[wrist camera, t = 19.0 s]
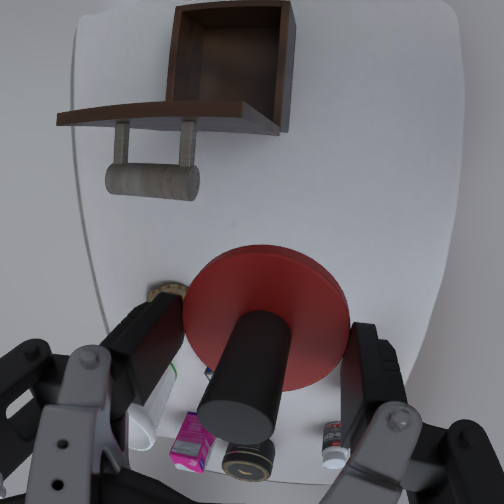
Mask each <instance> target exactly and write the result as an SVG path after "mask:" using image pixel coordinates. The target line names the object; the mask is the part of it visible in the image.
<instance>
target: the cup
mask: <svg viewBox="0 0 504 504" xmlns="http://www.w3.org/2000/svg"><path fill="white" fill-rule="evenodd" d="M175 380H176V371H175V368H174V367H173V365H172V364H171V363H170V365H169V366H168V368H167V369H166V371H165V372H164V374H163V376H162V377H161V379H160V380H159V382H158V384H157V385H156V387H155V388H154V390H153V392H152V393H151V395H150V396H149V398H148V400H147V401H146V403H145V405H144V406H143V407H142V406H139V405H136V404H134V403H131V405H130V406H129V408H128V409H127V410H128V413H129V435H128V448H131V449H135V450H139V451H143V450H149V449H150V448H151V447H152V446H153V444H154V442H155V440H156V438H157V436H156V429H157V426H158V423H159V421H160V418H161V416H162V413H163V410H164V408H165V405H166V403H167V400H168V398H169V395H170V392H171V390H172V387H173V385H174V382H175Z"/></svg>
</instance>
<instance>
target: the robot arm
mask: <svg viewBox="0 0 504 504" xmlns="http://www.w3.org/2000/svg"><path fill="white" fill-rule="evenodd" d="M182 309H183V298H182V296H181V295H179V294H173V293H168V292H163V291H161V292H160V293H159V294H158V295H157V296H156V297H155V298H154V299H153V300H152V301H151V302H145V303H143V304H141V305H139V306H137V307H135V308H134V309H133V310H132V311H131V312H130V313H129V314H128V315H127V317H125V318H124V319H123V320H122V321H121V324H120V323H119V324H118V325H117V326H116V328H115V329H114V330H113V331H112V332H111V333H110V334H109V335H108V336H107V337H106V338H105V339H104V340H103V341H102V342H101V344H100V345H86V346H83V347H80V348H78V349H76V350H75V351H74V352H73V353H72V354H71V355H70V356H68V355H59V354H52V352H51V349H50V346H49V344H48V343H47V342H46V341H44V340H42V339H30V340H27V341H24V342H23V343H21V344H20V345H18V346H17V347H15V348H14V349H13V350H11V351H10V352H8V353H7V354H6V355H4V356H3V357H2V358H0V504H217V503H199V502H195V501H193V500H191V499H189V498H187V497H185V496H184V495H182V494H180V493H179V492H177V491H175V490H173V489H172V488H170V487H168V486H167V485H165V484H163V483H162V482H160V481H159V480H156V479H153V478H151V477H148V476H145V475H142V474H140V473H138V472H135V471H133V470H131V468H130V464H129V458H128V435H129V413H128V410H127V409H128V408H129V406H130V405H131V403H134V404H136V405H139V406H142V407H143V406H144V405H145V403H146V401H147V400H148V398H149V396H150V395H151V393H152V392H153V390H154V388H155V387H156V385H157V384H158V382H159V380H160V379H161V377H162V376H163V374H164V372H165V371H166V369H167V368H168V366H169V365H170V363H171V361H172V360H173V358H174V357H175V355H176V353H177V352H178V350H179V349H180V347H181V345H182V343H183V340H184V335H185V331H184V326H183V316H182ZM340 376H341V444H340V447H341V448H350V458H349V460H348V461H347V463H346V464H345V466H344V468H343V469H342V471H341V472H340V474H339V475H338V477H337V478H336V480H335V481H334V483H333V484H332V486H331V487H330V489H329V490H328V491H327V493H326V494H325V496H324V497H323V498H322V500H321V501H320V502H319V504H397V502H398V500H399V498H400V496H401V493H402V489H405V490H406V492H407V496H408V500H409V504H504V472H503V470H502V467H501V465H500V463H499V460H498V458H497V456H496V454H495V451H494V449H493V447H492V445H491V443H490V441H489V438H488V436H487V434H486V432H485V431H484V429H483V428H482V427H481V426H480V425H479V424H477V423H476V422H474V421H471V420H467V419H466V420H465V419H462V420H458V421H456V422H454V423H453V424H452V425H451V426H450V427H449V429H444V428H440V427H436V426H432V425H429V424H426V423H424V422H422V418H421V416H420V414H419V413H418V412H417V410H416V409H415V408H413V407H412V406H410V405H409V404H408V402H407V397H406V393H405V388H404V384H403V380H402V375H401V372H400V367H399V363H398V359H397V355H396V352H395V349H394V348H393V347H392V345H391V344H390V343H389V342H388V341H387V340H382V339H378V335H377V330H376V326H375V324H368V323H359V322H353V324H352V327H351V331H350V336H349V340H348V344H347V347H346V350H345V353H344V356H343V358H342V363H341V372H340ZM28 389H29V390H30V391H31V393H32V395H33V397H34V398H33V399H31V401H29V402H28V403H27V404H26V405H25V406H23V407H22V408H21V409H20V410H19V411H18V412H16V413H15V414H14V415H13V416H12V417H11V418H9V419H7V418H6V409H7V407H8V406H9V405H10V404H11V403H12V402H13V401H15V400H16V399H17V398H18V397H19V396H20V395H22V394H23V393H24V392H25V391H26V390H28ZM32 453H33V455H32V460H31V465H30V472H29V477H28V484H27V491H26V493H24V494H20V495H16V496H12V497H8V498H4V497H5V496H6V489H5V487H4V486H3V481H4V480H5V479H6V478H7V477H8V476H9V475H10V474H11V473H12V472H13V471H14V470H15V469H16V468H17V467H18V466H19V465H20V464H21V463H22V462H24V461H25V460H26V459H27V457H29V456H30V455H31V454H32ZM2 498H4V499H2ZM218 504H220V503H218Z"/></svg>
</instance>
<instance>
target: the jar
mask: <svg viewBox="0 0 504 504" xmlns="http://www.w3.org/2000/svg"><path fill="white" fill-rule="evenodd" d="M274 457H275V447H274V444H273V443H272V442H271V441H270V440H269V439H267V440H266V441H263V442H261V443H257V444H250V445H245V444H236V443H231V442H229V444H228V447H227V450H226V453H225V455H224V457H223V461H222V469H223V470H224V472H225V473H227V474H228V475H230V476H232V477H234V478H236V479H239V480H243V481H249V482H260V481H264V480H266V479H268V478H269V477H270V475H271V472H272V469H273V462H274Z"/></svg>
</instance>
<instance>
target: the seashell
mask: <svg viewBox="0 0 504 504" xmlns="http://www.w3.org/2000/svg"><path fill="white" fill-rule="evenodd" d="M187 290H188V288H187V287H185V286H183V285H180V284H168V285H164V286H162V287H160V288H158V289H157V290H151V291H149V292H148V293H147V302H151V301H152V300H153V299H154V298H155V297H156V296H157V295H158V294H159V293H160V292H161V291H163V292H168V293H173V294H179V295H181V296H182V298H183V302H184V298H185V295H186V292H187Z"/></svg>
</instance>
